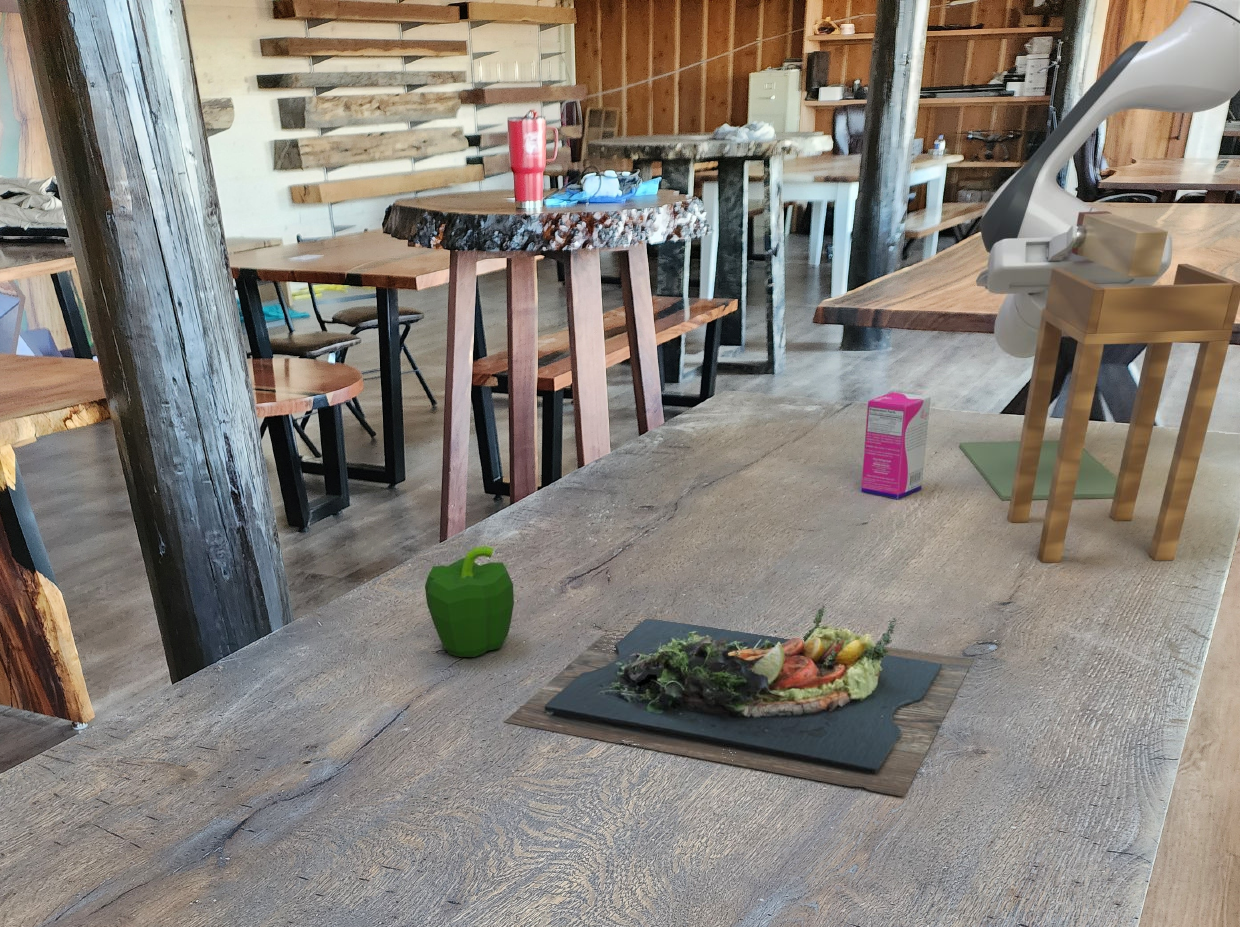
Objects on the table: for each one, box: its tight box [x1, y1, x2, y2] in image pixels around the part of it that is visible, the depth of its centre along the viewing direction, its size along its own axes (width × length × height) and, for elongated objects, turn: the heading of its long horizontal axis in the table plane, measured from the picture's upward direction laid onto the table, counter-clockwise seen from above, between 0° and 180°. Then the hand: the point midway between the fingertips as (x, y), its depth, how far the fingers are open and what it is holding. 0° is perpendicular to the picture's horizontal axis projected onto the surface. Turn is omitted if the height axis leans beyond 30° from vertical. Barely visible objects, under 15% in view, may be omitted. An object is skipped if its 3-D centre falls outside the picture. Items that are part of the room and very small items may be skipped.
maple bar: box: [1072, 210, 1169, 277], centre depth 126 cm, size 3×20×4 cm, turn 176°
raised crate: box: [1006, 263, 1240, 563], centre depth 127 cm, size 14×16×27 cm
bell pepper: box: [424, 545, 515, 658], centre depth 112 cm, size 8×8×10 cm
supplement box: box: [860, 391, 932, 500], centre depth 149 cm, size 6×6×12 cm
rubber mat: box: [959, 439, 1118, 501], centre depth 157 cm, size 16×26×1 cm, turn 176°
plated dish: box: [503, 604, 974, 798], centre depth 103 cm, size 35×28×7 cm
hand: (1100, 230), depth 131 cm, fingers closed on maple bar, 3 cm apart
